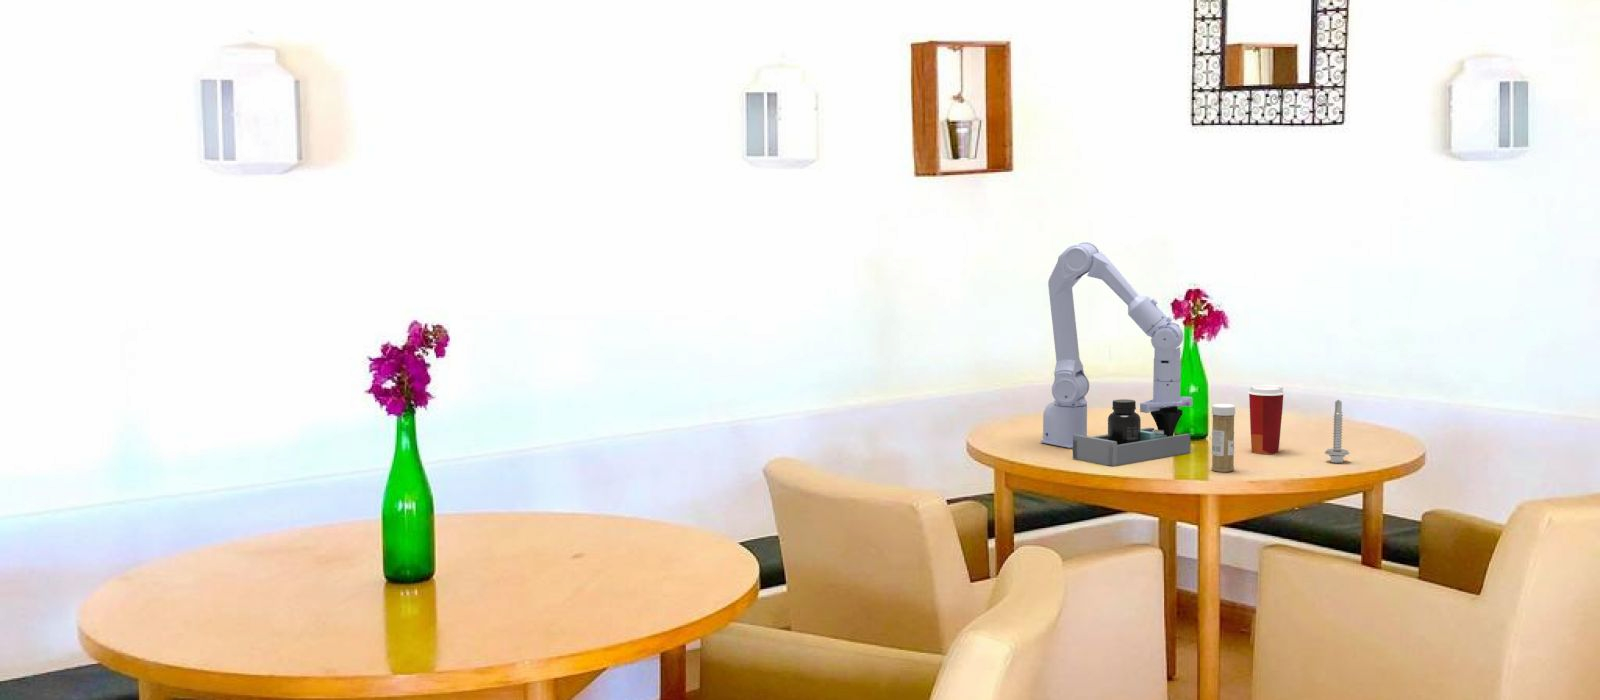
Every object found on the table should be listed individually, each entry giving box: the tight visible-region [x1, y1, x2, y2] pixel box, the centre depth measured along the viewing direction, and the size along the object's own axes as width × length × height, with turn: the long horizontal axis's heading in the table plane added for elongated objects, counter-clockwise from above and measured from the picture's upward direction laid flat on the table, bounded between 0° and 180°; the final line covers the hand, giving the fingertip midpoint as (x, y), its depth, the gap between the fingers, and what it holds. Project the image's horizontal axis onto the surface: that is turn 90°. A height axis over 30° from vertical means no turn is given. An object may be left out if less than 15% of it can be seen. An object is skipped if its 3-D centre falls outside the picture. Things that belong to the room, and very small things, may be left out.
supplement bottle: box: [1107, 398, 1142, 445], centre depth 389 cm, size 7×7×12 cm
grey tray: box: [1072, 427, 1191, 467], centre depth 391 cm, size 11×24×5 cm, turn 127°
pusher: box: [1141, 429, 1167, 441], centre depth 394 cm, size 8×8×5 cm
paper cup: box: [1246, 384, 1286, 455], centre depth 393 cm, size 8×8×14 cm
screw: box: [1324, 399, 1350, 464], centre depth 381 cm, size 13×5×5 cm
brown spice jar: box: [1211, 403, 1236, 473], centre depth 373 cm, size 5×5×13 cm
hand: (1166, 442), depth 397 cm, fingers closed
